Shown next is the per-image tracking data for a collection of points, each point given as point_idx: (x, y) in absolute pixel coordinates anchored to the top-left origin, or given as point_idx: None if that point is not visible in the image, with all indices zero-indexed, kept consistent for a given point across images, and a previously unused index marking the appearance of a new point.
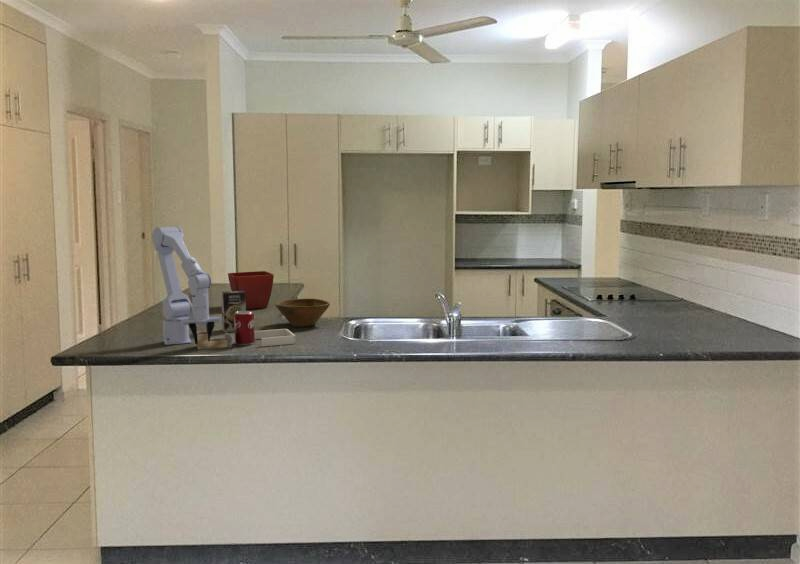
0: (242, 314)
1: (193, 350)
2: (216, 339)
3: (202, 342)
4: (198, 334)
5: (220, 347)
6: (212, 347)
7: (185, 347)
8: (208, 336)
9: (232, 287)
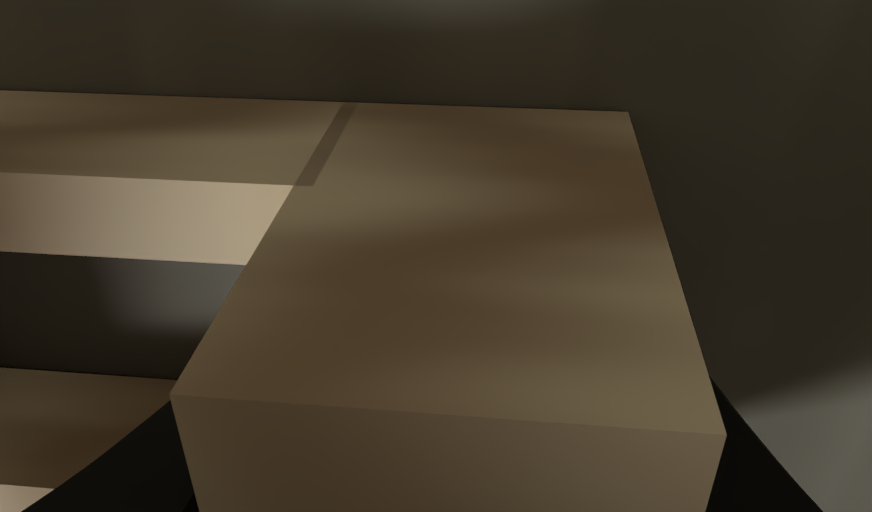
0: None
1: (784, 64)
2: None
3: (490, 201)
4: (666, 457)
5: (27, 95)
6: (226, 103)
7: (833, 451)
8: None
9: None
